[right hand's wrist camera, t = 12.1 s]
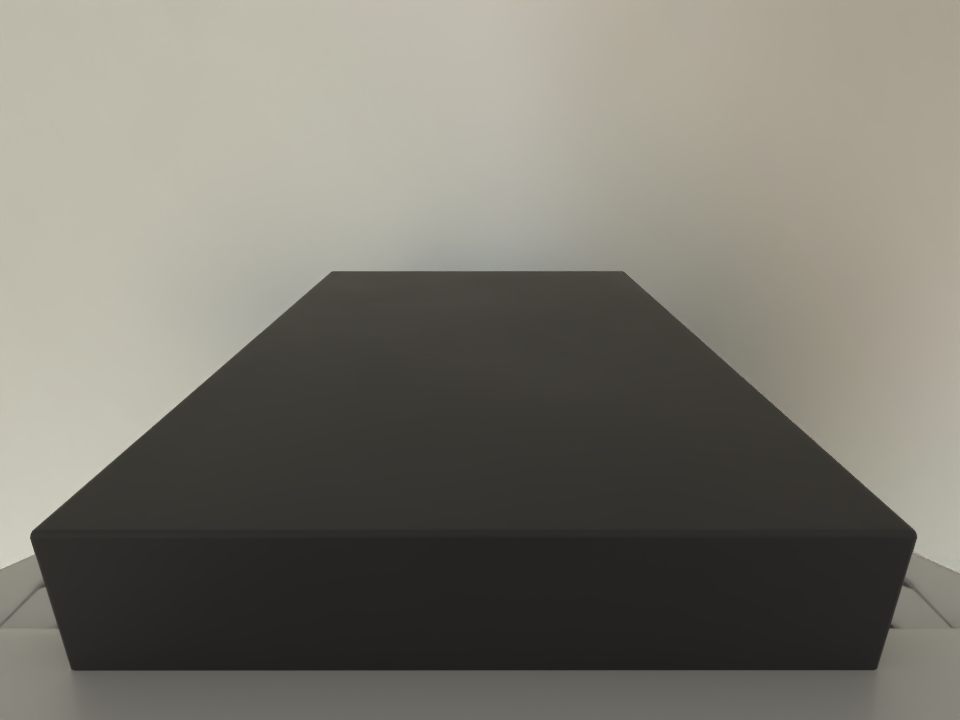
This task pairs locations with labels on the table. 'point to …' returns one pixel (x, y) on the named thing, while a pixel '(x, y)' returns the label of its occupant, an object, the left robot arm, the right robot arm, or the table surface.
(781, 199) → the table surface
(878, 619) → the box
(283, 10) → the table surface
